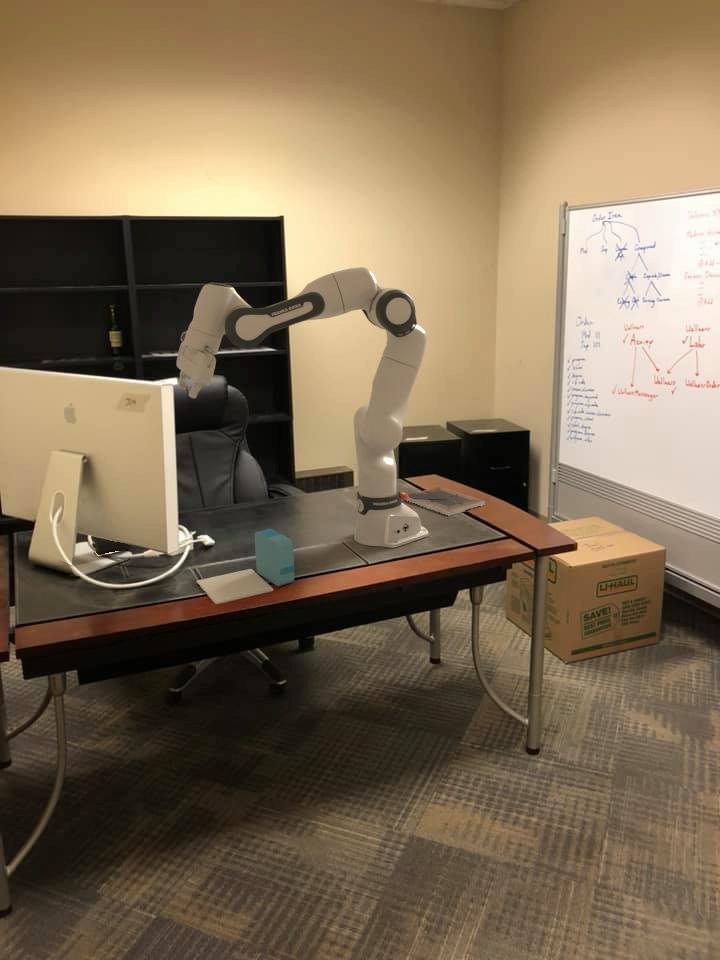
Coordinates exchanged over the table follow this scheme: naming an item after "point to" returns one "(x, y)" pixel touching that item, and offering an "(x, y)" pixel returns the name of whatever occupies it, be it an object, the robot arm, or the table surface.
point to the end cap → (108, 546)
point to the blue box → (274, 557)
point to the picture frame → (444, 500)
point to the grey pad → (234, 586)
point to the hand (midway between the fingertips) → (186, 392)
